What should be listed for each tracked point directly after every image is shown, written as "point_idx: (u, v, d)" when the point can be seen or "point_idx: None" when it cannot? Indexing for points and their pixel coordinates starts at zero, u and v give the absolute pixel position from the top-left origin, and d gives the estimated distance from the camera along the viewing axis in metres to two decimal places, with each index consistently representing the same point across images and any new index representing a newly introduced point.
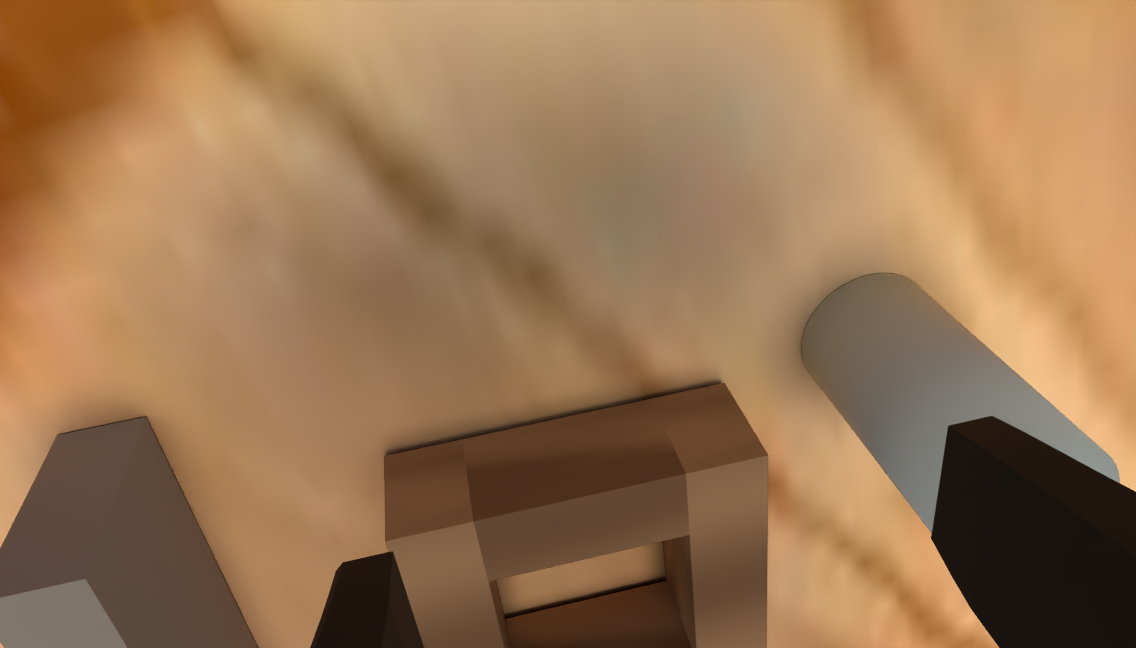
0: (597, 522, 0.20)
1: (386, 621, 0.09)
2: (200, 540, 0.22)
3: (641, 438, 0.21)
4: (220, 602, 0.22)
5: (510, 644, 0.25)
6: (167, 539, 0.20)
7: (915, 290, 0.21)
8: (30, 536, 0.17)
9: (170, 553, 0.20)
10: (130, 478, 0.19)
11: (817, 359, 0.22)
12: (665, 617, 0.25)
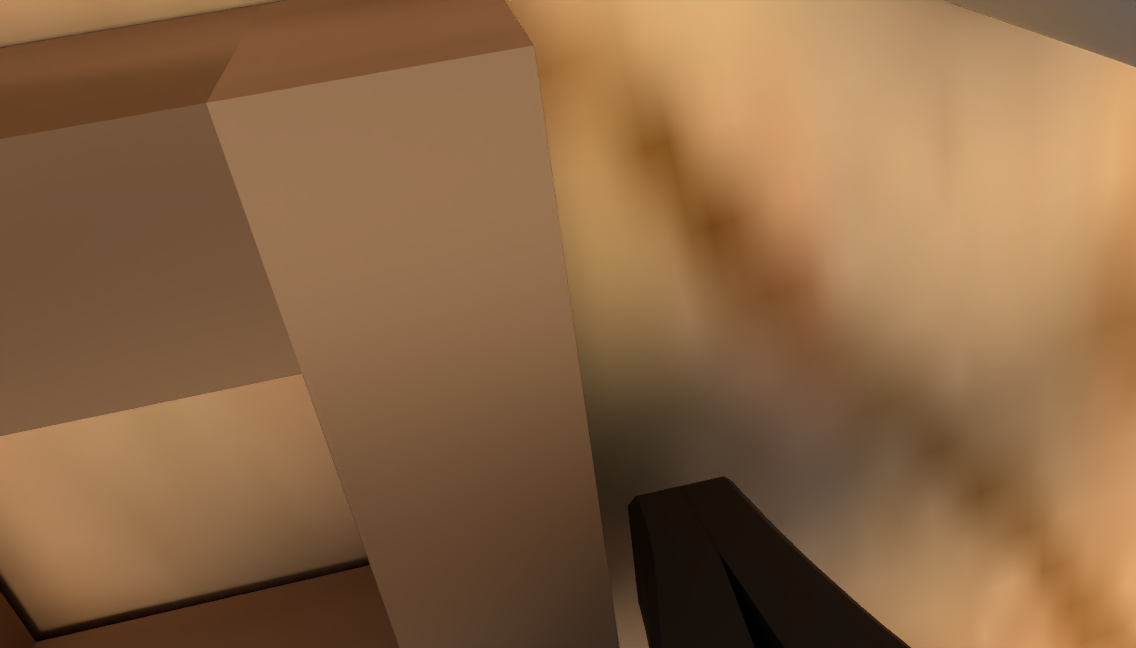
0: None
1: (714, 544, 0.09)
2: None
3: (150, 57, 0.06)
4: None
5: None
6: None
7: None
8: None
9: None
10: None
11: None
12: None
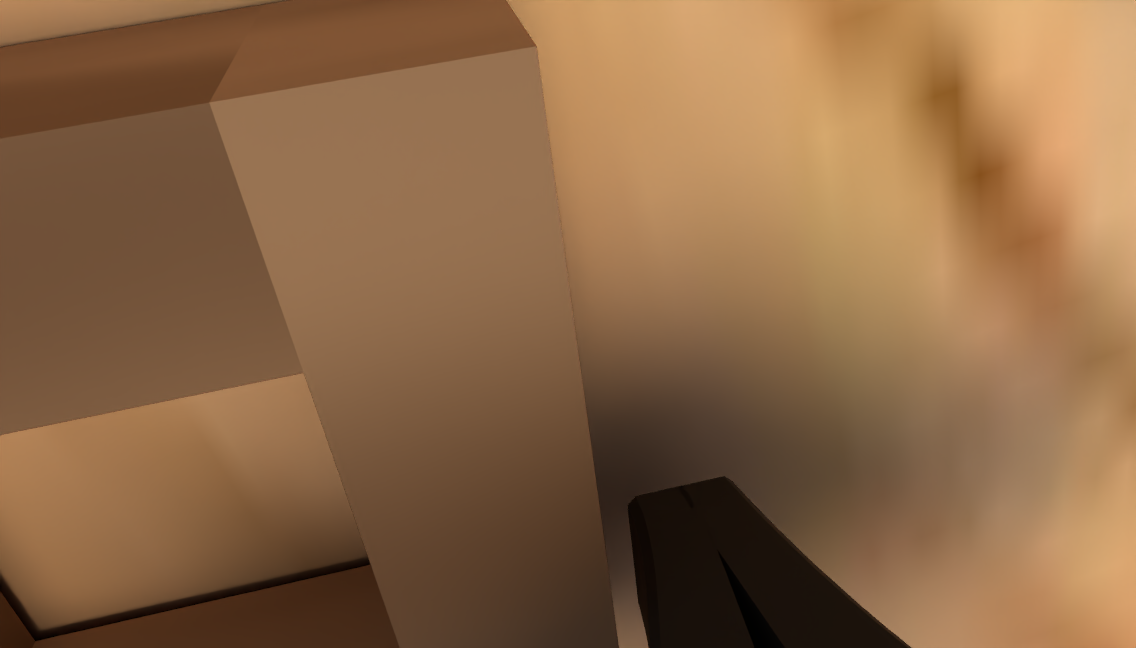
0: None
1: (714, 544, 0.09)
2: None
3: (153, 57, 0.06)
4: None
5: None
6: None
7: None
8: None
9: None
10: None
11: None
12: None
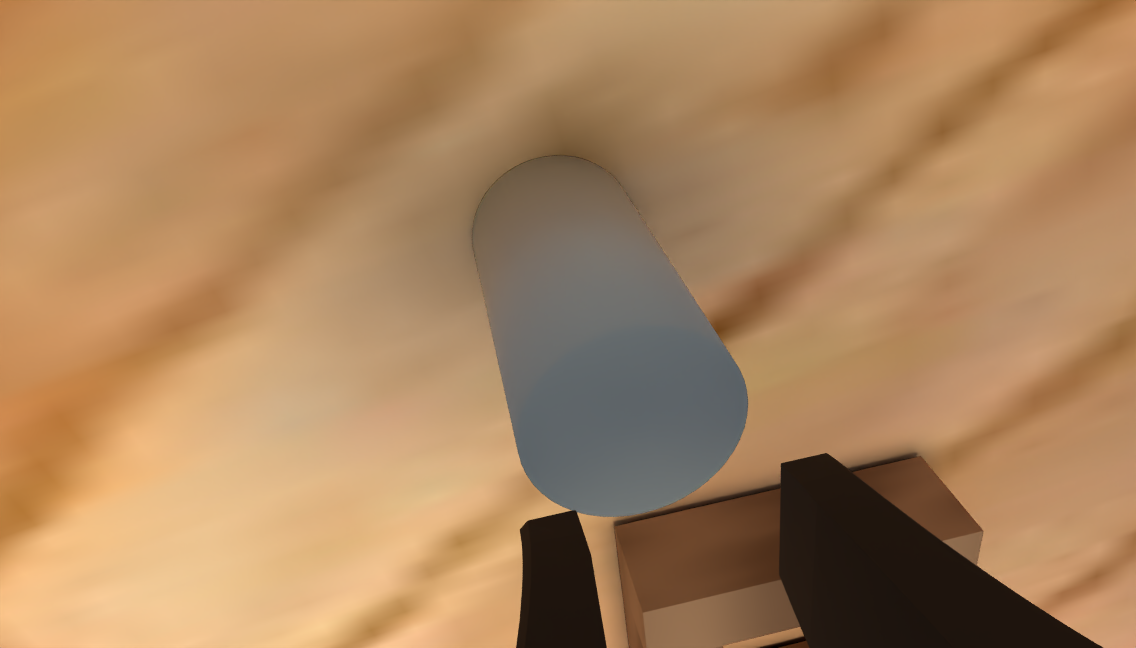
0: None
1: (593, 572, 0.09)
2: None
3: (635, 632, 0.24)
4: None
5: None
6: None
7: (479, 231, 0.18)
8: None
9: None
10: None
11: None
12: None
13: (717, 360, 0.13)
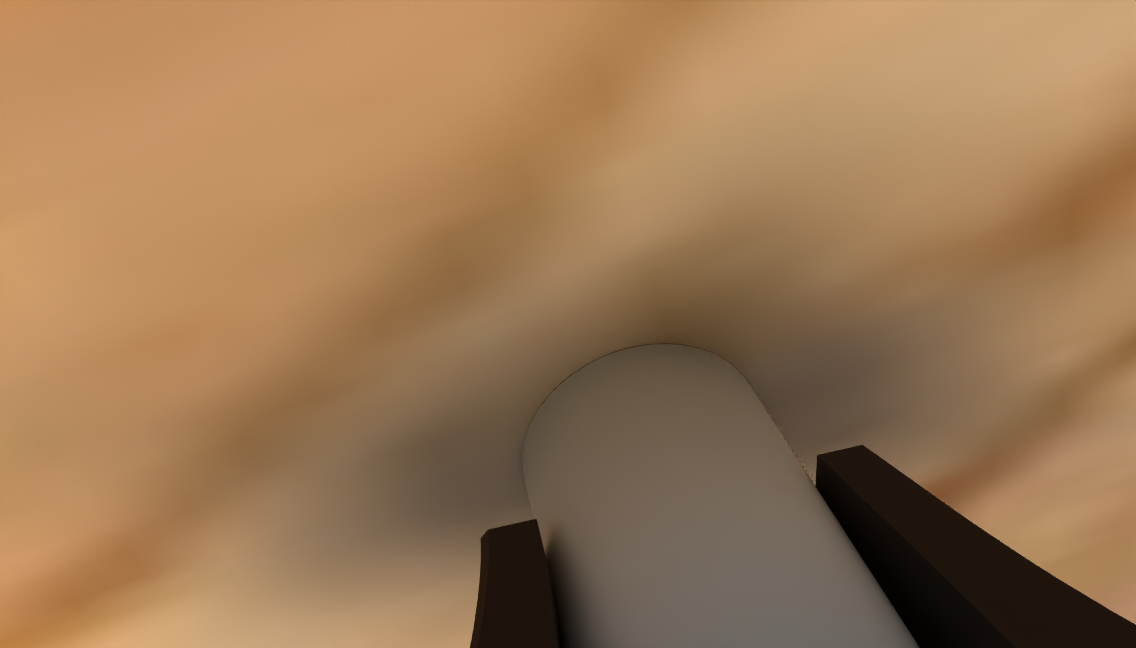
0: None
1: (549, 583, 0.09)
2: None
3: None
4: None
5: None
6: None
7: (537, 469, 0.11)
8: None
9: None
10: None
11: None
12: None
13: None
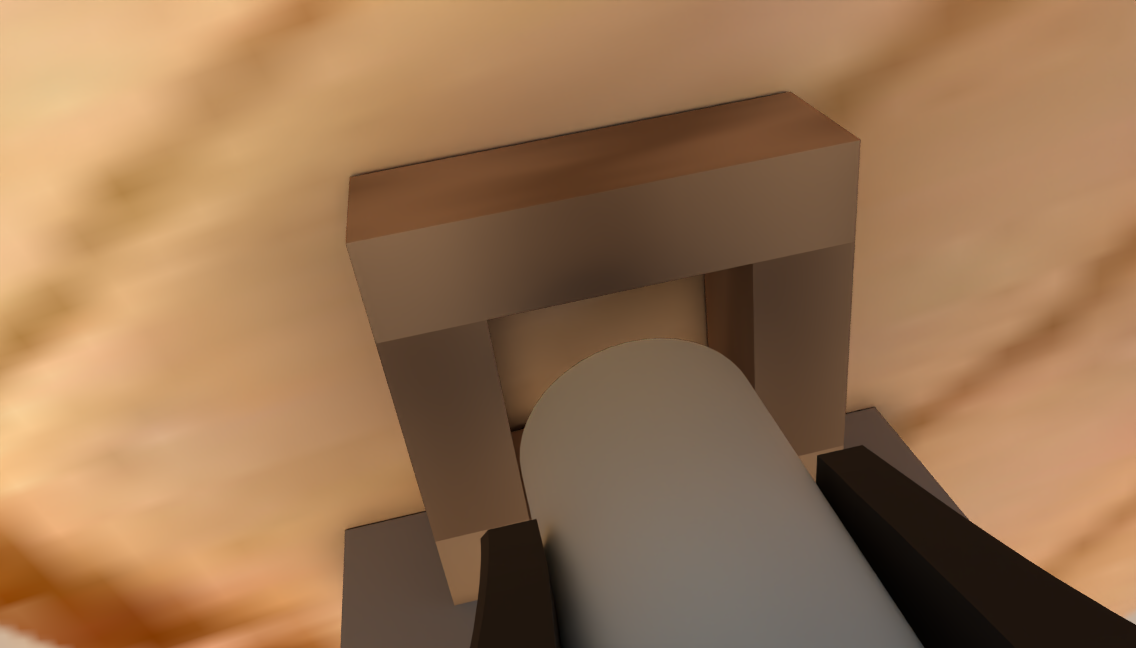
0: (450, 428, 0.17)
1: (549, 583, 0.09)
2: None
3: None
4: None
5: None
6: None
7: (534, 466, 0.11)
8: None
9: None
10: (352, 587, 0.20)
11: None
12: None
13: None
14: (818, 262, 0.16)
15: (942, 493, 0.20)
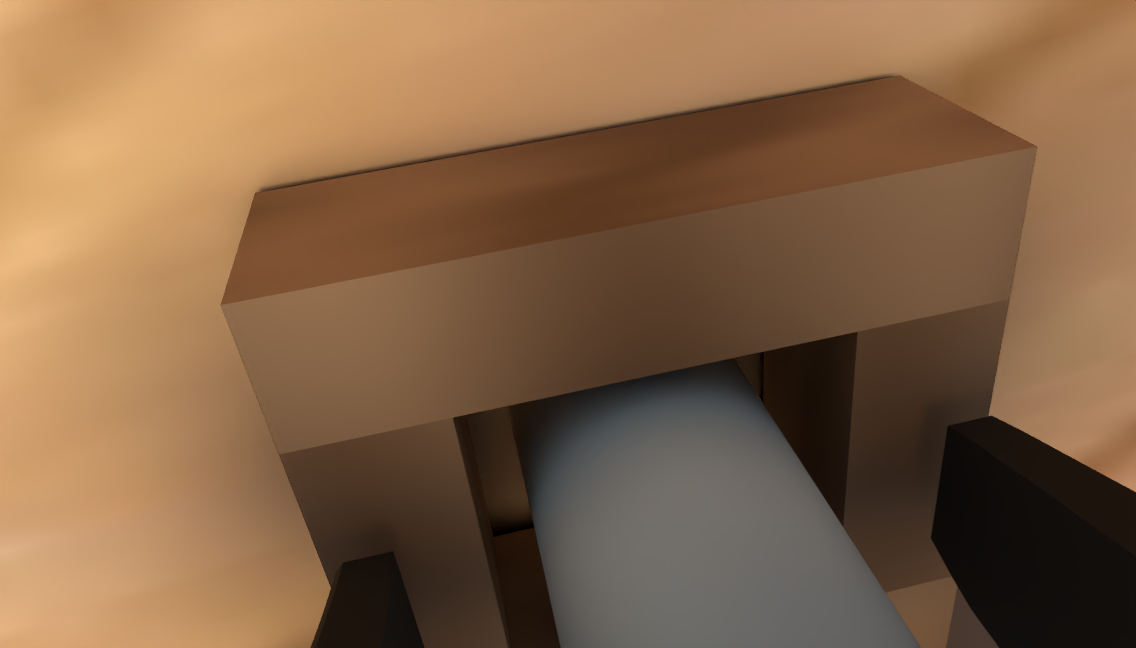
0: (399, 569, 0.11)
1: (386, 621, 0.09)
2: None
3: None
4: None
5: None
6: None
7: None
8: None
9: None
10: None
11: None
12: None
13: None
14: (953, 329, 0.11)
15: None
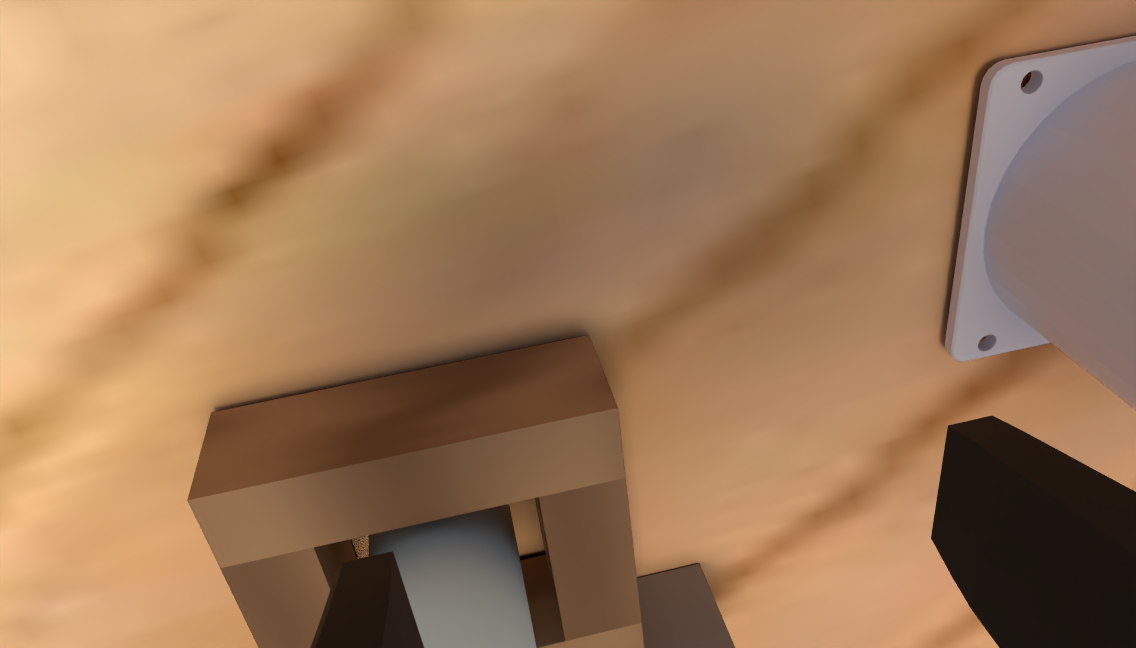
0: (291, 625, 0.20)
1: (386, 621, 0.09)
2: None
3: None
4: None
5: (551, 578, 0.24)
6: None
7: None
8: None
9: None
10: None
11: None
12: None
13: None
14: (596, 493, 0.19)
15: None
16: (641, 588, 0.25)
